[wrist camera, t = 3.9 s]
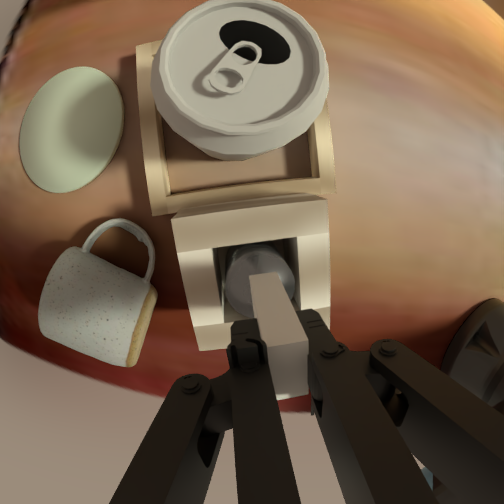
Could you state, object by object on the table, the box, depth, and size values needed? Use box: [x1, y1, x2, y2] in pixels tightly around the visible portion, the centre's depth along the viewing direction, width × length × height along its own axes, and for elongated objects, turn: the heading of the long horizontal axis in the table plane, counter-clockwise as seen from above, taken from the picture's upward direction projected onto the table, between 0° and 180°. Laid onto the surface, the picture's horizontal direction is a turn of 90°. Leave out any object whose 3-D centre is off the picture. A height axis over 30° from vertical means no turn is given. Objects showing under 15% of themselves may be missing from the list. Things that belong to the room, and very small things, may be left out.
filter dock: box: [136, 40, 336, 351], centre depth 18 cm, size 22×13×6 cm, turn 7°
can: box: [150, 0, 329, 161], centre depth 14 cm, size 8×8×12 cm
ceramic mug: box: [38, 218, 158, 367], centre depth 19 cm, size 11×8×8 cm
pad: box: [20, 67, 124, 193], centre depth 18 cm, size 11×11×1 cm
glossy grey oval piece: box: [225, 240, 295, 318], centre depth 18 cm, size 4×4×5 cm
